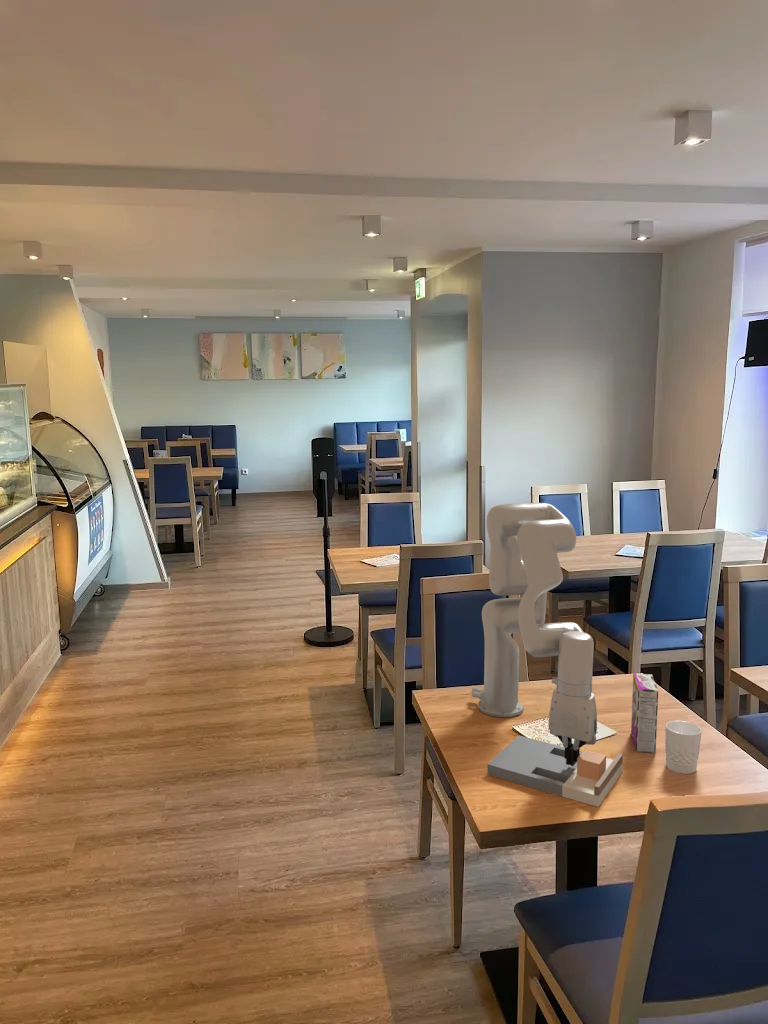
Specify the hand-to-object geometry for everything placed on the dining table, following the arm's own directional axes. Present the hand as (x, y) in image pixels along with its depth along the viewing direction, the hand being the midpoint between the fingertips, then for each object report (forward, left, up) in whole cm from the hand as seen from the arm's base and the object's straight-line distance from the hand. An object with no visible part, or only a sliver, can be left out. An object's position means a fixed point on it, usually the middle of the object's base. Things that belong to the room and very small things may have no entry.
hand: (571, 762), depth 172 cm
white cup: (+20, +19, -4) cm, 28 cm away
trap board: (-4, 0, -4) cm, 5 cm away
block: (+5, 0, -1) cm, 5 cm away
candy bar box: (+9, +27, -4) cm, 29 cm away
